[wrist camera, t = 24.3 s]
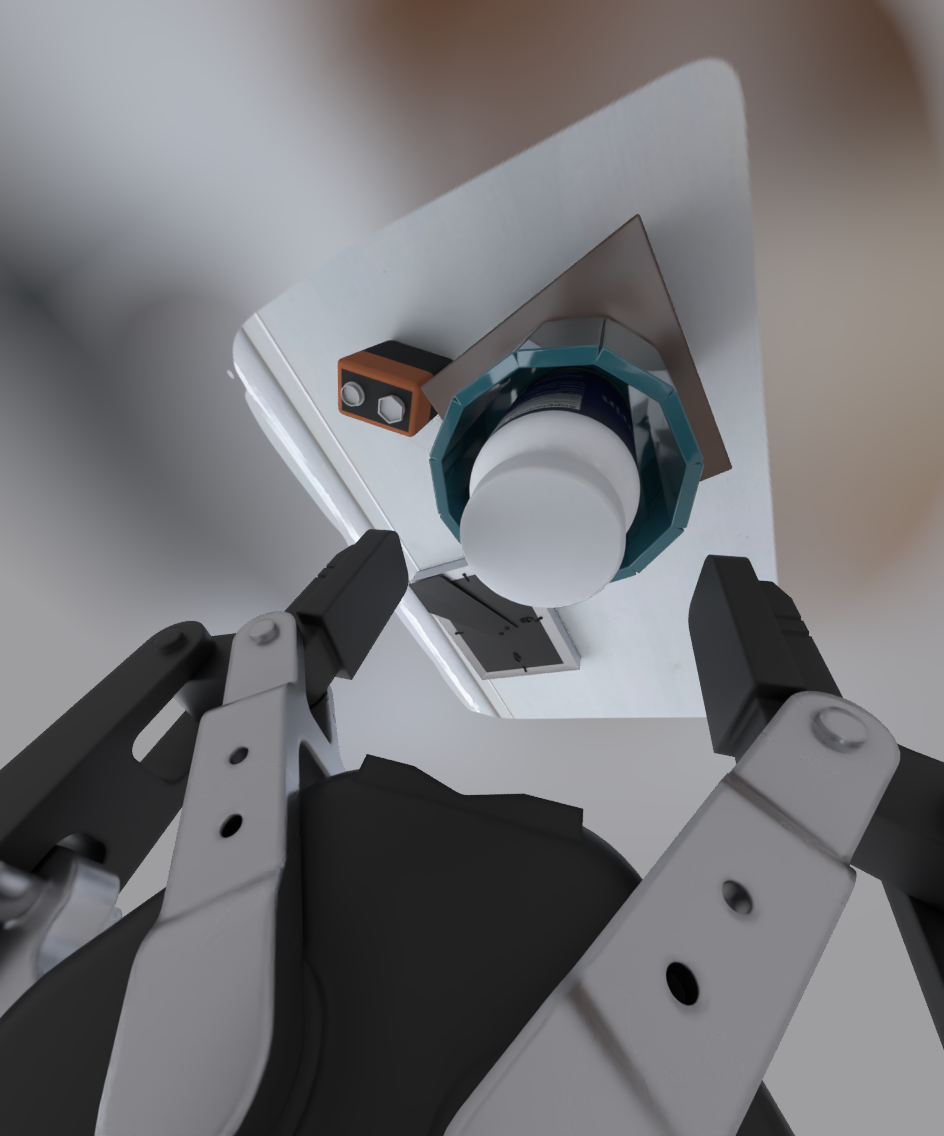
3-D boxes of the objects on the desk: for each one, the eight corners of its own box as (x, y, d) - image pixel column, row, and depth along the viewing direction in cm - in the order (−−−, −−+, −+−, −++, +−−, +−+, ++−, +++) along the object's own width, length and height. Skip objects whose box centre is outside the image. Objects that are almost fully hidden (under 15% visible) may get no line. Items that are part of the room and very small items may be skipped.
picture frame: (416, 572, 53) (485, 669, 63) (408, 585, 51) (481, 683, 60) (519, 541, 46) (580, 657, 55) (514, 555, 44) (579, 674, 53)
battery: (448, 407, 38) (408, 444, 31) (385, 386, 39) (330, 417, 31) (456, 359, 35) (414, 387, 28) (387, 337, 36) (328, 359, 28)
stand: (498, 333, 33) (419, 387, 20) (626, 233, 27) (638, 212, 14) (559, 443, 37) (529, 550, 24) (681, 377, 31) (732, 469, 18)
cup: (446, 394, 20) (384, 445, 14) (622, 262, 15) (627, 266, 9) (535, 531, 23) (512, 613, 18) (702, 460, 18) (738, 544, 13)
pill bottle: (640, 471, 19) (659, 615, 11) (527, 496, 21) (479, 628, 14) (621, 342, 16) (628, 420, 8) (492, 388, 18) (407, 481, 11)
